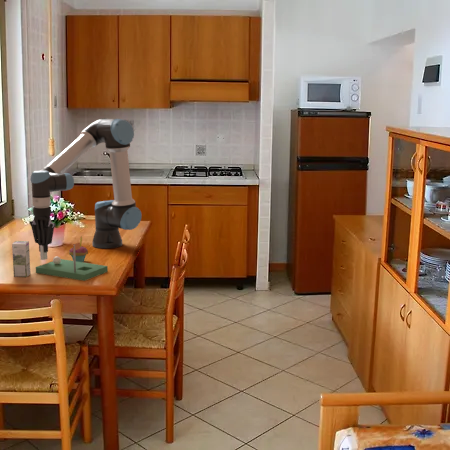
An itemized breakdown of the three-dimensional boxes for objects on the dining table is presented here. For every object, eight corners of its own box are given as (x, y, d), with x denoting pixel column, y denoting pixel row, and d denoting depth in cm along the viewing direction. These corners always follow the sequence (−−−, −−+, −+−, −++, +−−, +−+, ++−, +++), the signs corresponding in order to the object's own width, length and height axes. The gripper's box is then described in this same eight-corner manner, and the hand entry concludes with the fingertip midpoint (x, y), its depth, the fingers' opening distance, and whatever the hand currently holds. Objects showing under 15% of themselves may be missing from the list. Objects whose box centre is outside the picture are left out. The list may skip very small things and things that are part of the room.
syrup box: (30, 273, 270) (29, 240, 267) (27, 277, 264) (25, 243, 262) (17, 273, 270) (15, 240, 267) (13, 277, 264) (11, 243, 261)
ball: (56, 262, 278) (56, 255, 278) (62, 263, 277) (62, 256, 276) (51, 264, 275) (51, 256, 275) (57, 265, 274) (57, 257, 273)
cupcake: (80, 258, 297) (79, 233, 295) (92, 261, 292) (91, 235, 290) (65, 261, 291) (64, 236, 288) (77, 264, 285) (76, 238, 283)
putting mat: (60, 264, 286) (59, 232, 283) (107, 271, 275) (106, 239, 272) (35, 272, 272) (34, 239, 269) (84, 280, 261) (83, 246, 258)
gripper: (24, 206, 274) (26, 259, 279) (47, 209, 268) (49, 262, 273) (36, 204, 281) (38, 255, 285) (59, 206, 275) (61, 259, 280)
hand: (44, 259), depth 279 cm, fingers closed
